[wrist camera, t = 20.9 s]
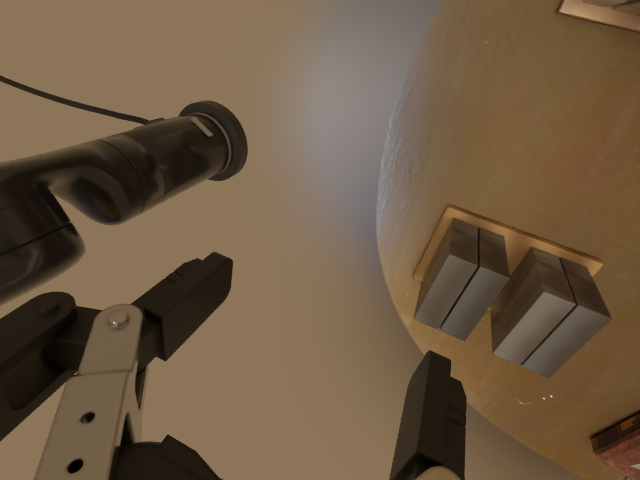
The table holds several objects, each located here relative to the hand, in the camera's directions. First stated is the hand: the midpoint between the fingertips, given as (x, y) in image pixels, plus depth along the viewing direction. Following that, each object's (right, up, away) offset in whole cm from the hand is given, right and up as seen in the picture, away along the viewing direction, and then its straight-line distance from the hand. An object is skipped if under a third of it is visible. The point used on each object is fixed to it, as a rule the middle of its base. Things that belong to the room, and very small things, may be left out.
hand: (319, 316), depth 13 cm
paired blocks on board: (+23, -1, +31) cm, 39 cm away
